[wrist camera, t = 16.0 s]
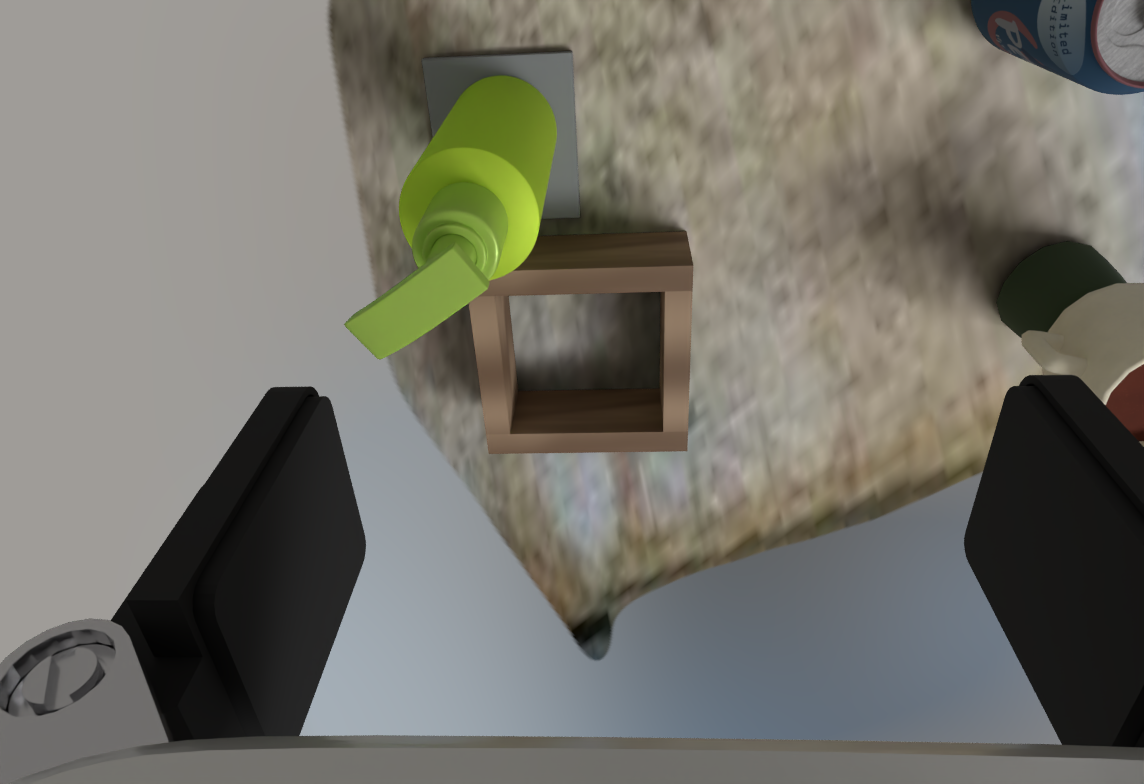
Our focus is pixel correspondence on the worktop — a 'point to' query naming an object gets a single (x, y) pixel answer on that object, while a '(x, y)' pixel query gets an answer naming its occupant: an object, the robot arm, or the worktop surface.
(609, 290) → the walnut stand
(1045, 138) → the worktop surface
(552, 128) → the soap dispenser
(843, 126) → the worktop surface
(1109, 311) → the character mug
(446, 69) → the rubber mat
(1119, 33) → the soda can
